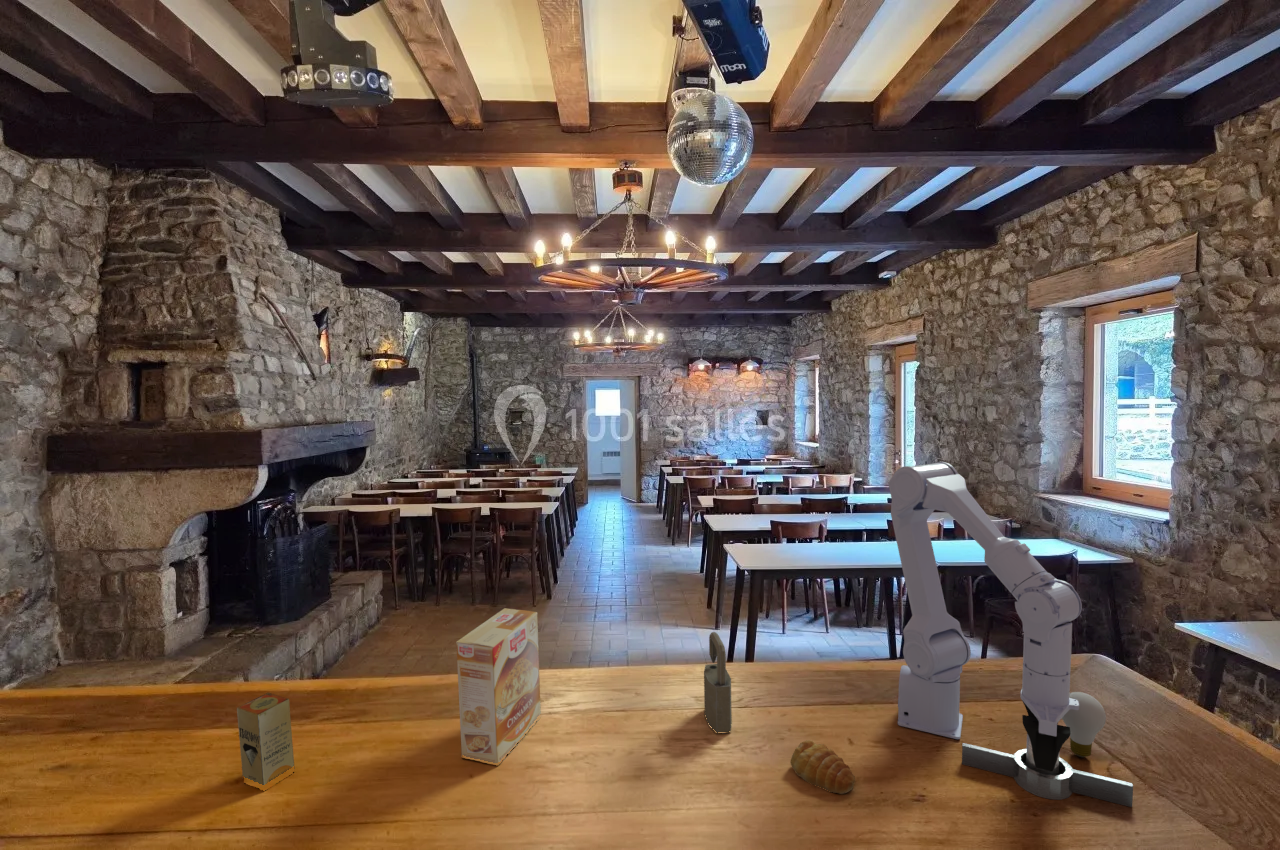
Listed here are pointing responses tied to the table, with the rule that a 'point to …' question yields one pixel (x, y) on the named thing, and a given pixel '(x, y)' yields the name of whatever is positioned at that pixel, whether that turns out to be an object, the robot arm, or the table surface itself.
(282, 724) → the shoe polish box
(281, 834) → the table surface
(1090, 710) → the light bulb
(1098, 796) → the hinge
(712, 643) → the padlock
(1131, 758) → the table surface
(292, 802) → the table surface
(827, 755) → the pastry
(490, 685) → the coffeecake box
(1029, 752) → the hinge pin
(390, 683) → the table surface
